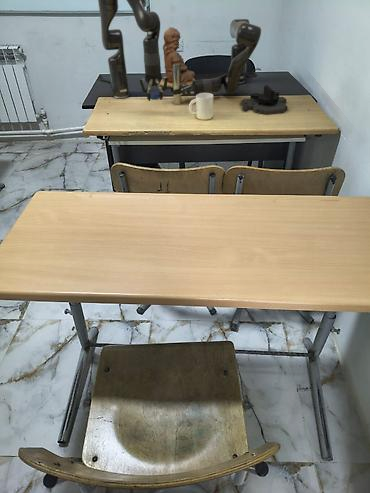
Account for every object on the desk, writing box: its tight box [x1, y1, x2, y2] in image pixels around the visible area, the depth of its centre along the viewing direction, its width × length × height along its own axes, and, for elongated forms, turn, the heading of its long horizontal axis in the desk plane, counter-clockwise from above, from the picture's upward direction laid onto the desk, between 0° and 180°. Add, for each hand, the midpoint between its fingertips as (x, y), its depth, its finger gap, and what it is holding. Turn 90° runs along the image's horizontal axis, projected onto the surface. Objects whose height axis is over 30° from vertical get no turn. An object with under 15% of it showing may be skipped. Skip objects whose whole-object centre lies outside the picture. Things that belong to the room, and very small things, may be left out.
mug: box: [188, 93, 214, 121], centre depth 174 cm, size 12×8×10 cm
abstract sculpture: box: [240, 84, 289, 115], centre depth 183 cm, size 25×9×20 cm
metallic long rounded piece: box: [172, 63, 183, 105], centre depth 189 cm, size 4×4×19 cm
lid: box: [149, 91, 160, 101], centre depth 177 cm, size 5×5×2 cm
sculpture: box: [160, 27, 196, 89], centre depth 214 cm, size 27×24×30 cm
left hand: (155, 100), depth 178 cm, fingers closed on lid, 5 cm apart
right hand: (172, 91), depth 190 cm, fingers closed on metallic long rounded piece, 4 cm apart
